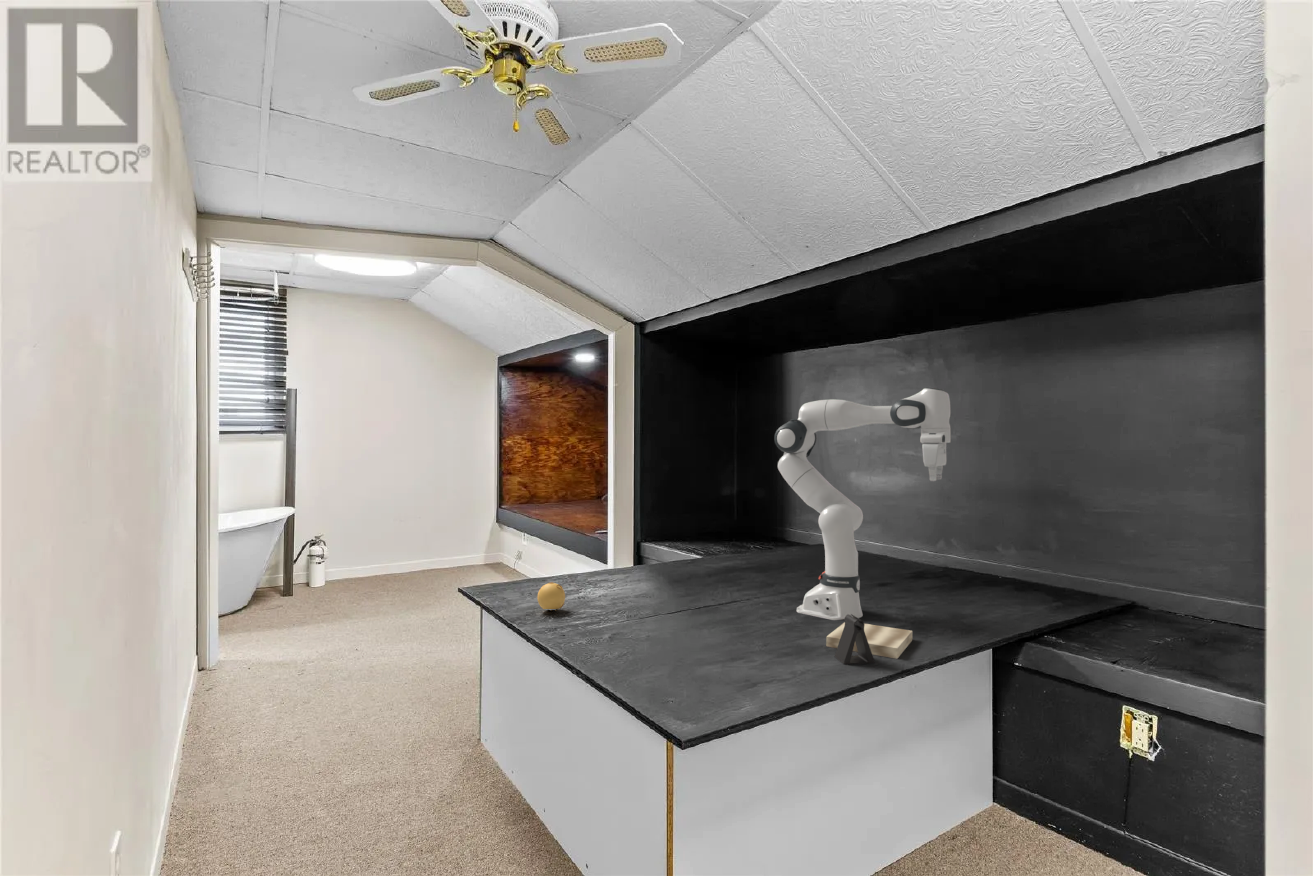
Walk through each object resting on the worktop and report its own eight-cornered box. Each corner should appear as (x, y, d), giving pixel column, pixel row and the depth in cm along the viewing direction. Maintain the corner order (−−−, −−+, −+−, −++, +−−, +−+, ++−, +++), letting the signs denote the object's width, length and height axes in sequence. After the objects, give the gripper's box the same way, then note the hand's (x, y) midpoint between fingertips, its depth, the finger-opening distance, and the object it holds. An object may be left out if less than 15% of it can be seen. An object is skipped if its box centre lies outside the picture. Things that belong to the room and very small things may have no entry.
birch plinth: (826, 646, 190) (826, 636, 190) (846, 630, 207) (846, 620, 207) (897, 659, 179) (897, 648, 179) (912, 640, 196) (912, 630, 196)
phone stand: (864, 656, 181) (864, 613, 181) (874, 663, 175) (874, 619, 175) (834, 657, 180) (834, 614, 180) (843, 665, 174) (843, 620, 174)
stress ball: (562, 614, 225) (563, 585, 225) (534, 614, 225) (534, 585, 225) (567, 607, 235) (567, 579, 235) (540, 607, 235) (540, 579, 235)
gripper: (931, 437, 220) (931, 478, 220) (919, 437, 203) (919, 481, 202) (951, 437, 216) (951, 479, 216) (940, 437, 199) (940, 482, 199)
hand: (935, 480), depth 209 cm, fingers open, 8 cm apart
